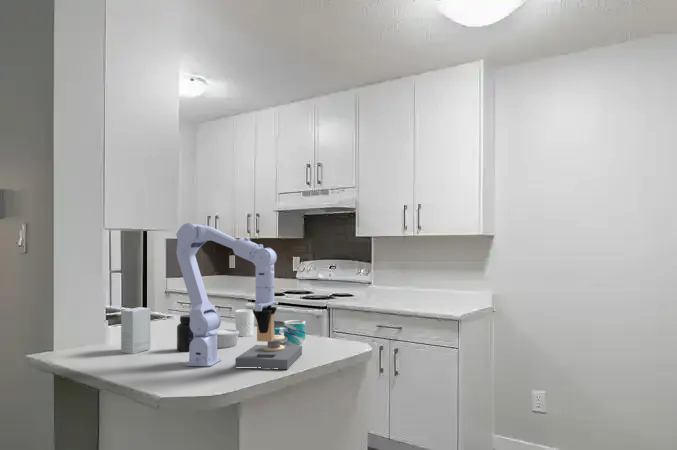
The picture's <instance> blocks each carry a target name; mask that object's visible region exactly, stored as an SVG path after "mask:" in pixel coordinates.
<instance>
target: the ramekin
mask: <svg viewBox="0 0 677 450" xmlns="http://www.w3.org/2000/svg"><path fill="white" fill-rule="evenodd" d="M238 335H239V331H238V330H236V329H232V328H231V329H230V328H222V329H220V328H218V329H217V349H228V348H233V347H235V346H237V343H238V339H239V336H238Z"/></svg>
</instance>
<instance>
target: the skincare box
mask: <svg viewBox="0 0 677 450" xmlns="http://www.w3.org/2000/svg"><path fill="white" fill-rule="evenodd" d="M120 313H121V315H120V316H121V317H120V320H121V321H120V331H121V333H120V334H121V337H120V340H121V341H120V352H121V353H124V354H130V355H134V354H138V353H141V352H145V351H148V350H151V308H150V307H142V306H138V307H134V308H128V309H123V310H121V311H120Z"/></svg>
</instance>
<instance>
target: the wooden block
mask: <svg viewBox="0 0 677 450" xmlns="http://www.w3.org/2000/svg"><path fill="white" fill-rule="evenodd" d="M274 328H275V314H271V315H270V318H269V323H268V330H267V333H260V332H259V328H258V323H257V322H256V341H257V342H267V343H268V342H272V341H273V340H274Z"/></svg>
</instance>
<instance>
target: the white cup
mask: <svg viewBox="0 0 677 450" xmlns="http://www.w3.org/2000/svg"><path fill="white" fill-rule="evenodd" d="M253 310H254V309H251V308H250V309H249V308H246V309H245V308H244V309H243V308H242V309H236V310H235V311H234V323H235V330H238V331H239V335H238V337H240V338H241V337H244V338H245V337H251V336H254V328H255V315H254V314H253Z"/></svg>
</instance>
